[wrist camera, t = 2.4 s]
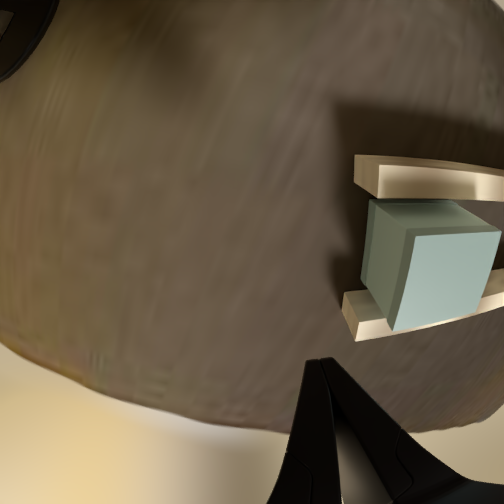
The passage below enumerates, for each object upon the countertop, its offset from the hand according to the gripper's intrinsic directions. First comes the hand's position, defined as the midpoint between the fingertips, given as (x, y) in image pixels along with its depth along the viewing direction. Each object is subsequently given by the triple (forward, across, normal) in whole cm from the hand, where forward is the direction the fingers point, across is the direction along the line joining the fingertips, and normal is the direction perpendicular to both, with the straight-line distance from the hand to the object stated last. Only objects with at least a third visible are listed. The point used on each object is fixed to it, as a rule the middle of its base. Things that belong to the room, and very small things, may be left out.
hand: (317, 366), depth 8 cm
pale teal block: (+9, -8, 0) cm, 12 cm away
